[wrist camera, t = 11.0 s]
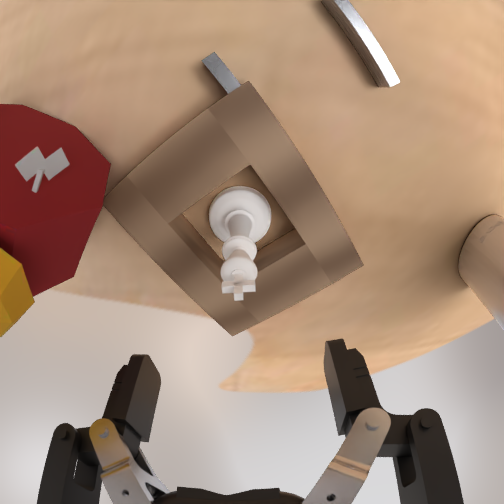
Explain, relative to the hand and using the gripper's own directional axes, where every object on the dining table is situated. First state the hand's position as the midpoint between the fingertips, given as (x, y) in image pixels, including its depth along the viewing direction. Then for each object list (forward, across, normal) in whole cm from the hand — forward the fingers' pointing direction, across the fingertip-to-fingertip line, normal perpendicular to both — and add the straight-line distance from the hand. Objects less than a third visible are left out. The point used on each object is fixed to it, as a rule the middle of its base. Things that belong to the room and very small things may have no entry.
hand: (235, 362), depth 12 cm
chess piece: (+13, 0, -2) cm, 13 cm away
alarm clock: (+13, +13, -10) cm, 21 cm away
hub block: (+13, 0, -2) cm, 13 cm away
